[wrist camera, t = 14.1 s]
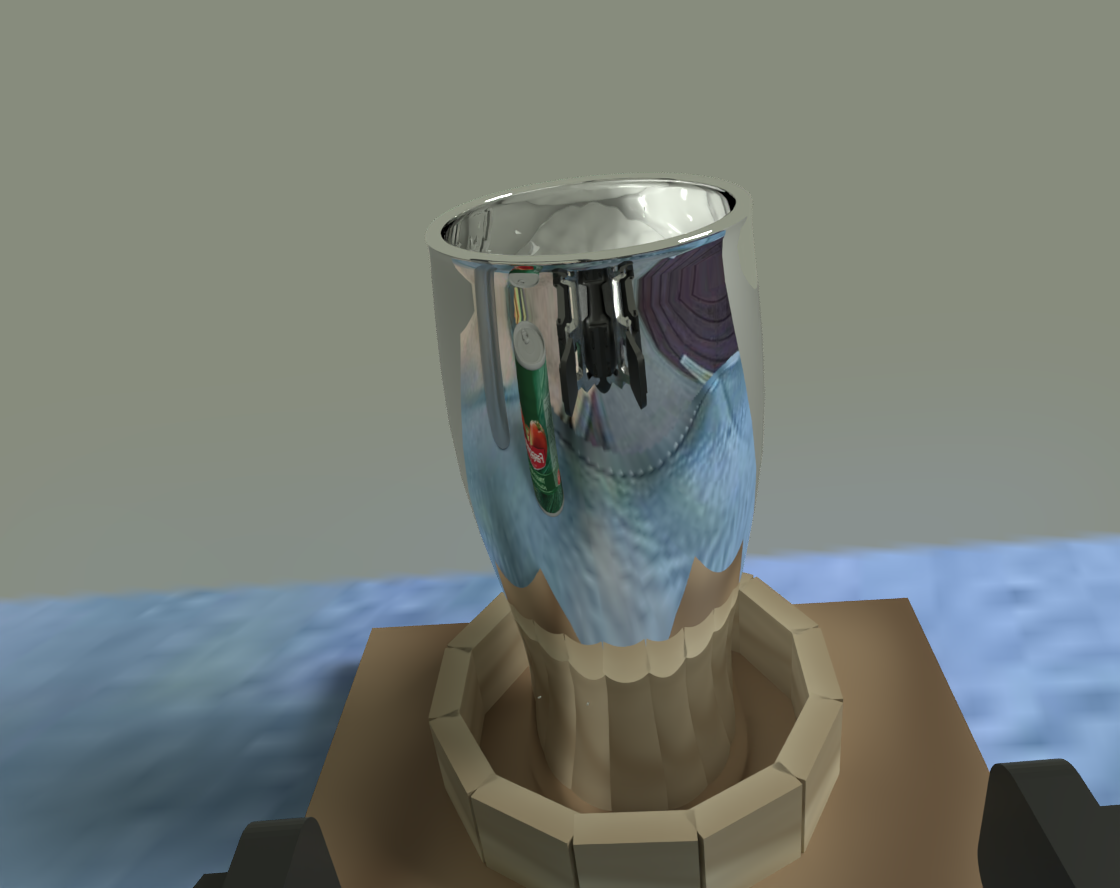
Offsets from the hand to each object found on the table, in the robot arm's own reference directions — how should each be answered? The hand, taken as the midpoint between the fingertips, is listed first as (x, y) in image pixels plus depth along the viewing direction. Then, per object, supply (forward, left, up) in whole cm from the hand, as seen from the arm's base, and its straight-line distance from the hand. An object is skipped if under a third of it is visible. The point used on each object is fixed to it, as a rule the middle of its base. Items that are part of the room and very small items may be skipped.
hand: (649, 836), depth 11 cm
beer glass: (-5, +9, -10) cm, 15 cm away
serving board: (-5, +10, -11) cm, 16 cm away
